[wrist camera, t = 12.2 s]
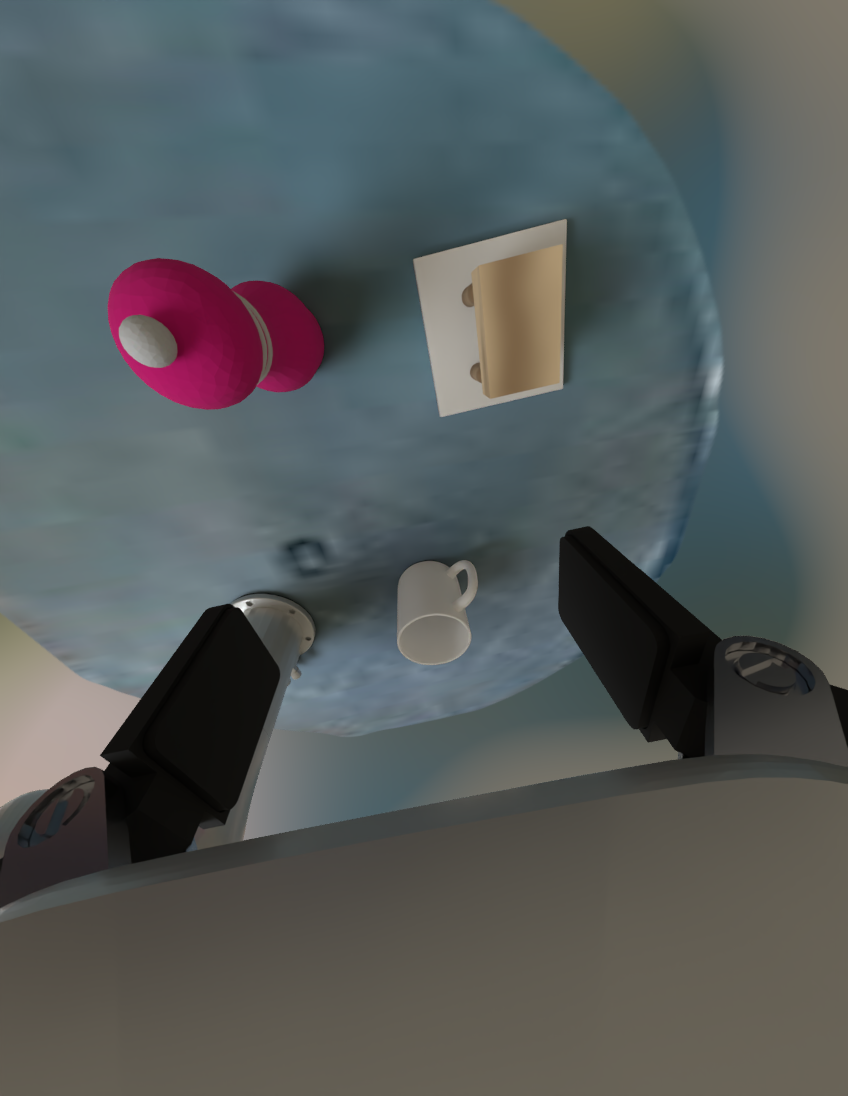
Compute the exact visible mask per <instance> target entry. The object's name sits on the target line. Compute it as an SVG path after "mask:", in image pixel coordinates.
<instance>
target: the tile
mask: <svg viewBox="0 0 848 1096" xmlns="http://www.w3.org/2000/svg"><path fill="white" fill-rule="evenodd" d="M566 234H567V219H564V220H560V221H556V222H552V223H549V224H545V225H541V226H537V227H533V228H530V229H526V230H522V231H518V232H514V233H511V234H507V235H503V236H499V237H495V238H492V239H488V240H484V241H480V242H476V243H473V244H469V245H465V246H461V247H458V248H454V249H450V250H446V251H442V252H439V253H435V254H431V255H427V256H423V257H420V258H416V259H413V265H414V271H415V277H416V283H417V289H418V294H419V300H420V306H421V312H422V318H423V323H424V329H425V335H426V341H427V347H428V352H429V358H430V364H431V370H432V376H433V382H434V387H435V393H436V399H437V405H438V411H439V415H440V417H443V416H448V415H452V414H456V413H461V412H465V411H469V410H474V409H478V408H482V407H486V406H491V405H495V404H499V403H504V402H508V401H512V400H516V399H521V398H525V397H529V396H534V395H538V394H542V393H546V392H551V391H555V390H559V389H563V362H564V320H565V277H566ZM561 244H563V255H562V302H561V348H560V383H557V384H553V385H549V386H544V387H540V388H536V389H531V390H527V391H523V392H518V393H514V394H510V395H505V396H501V397H497V398H492V399H490V398H488V397H487V396H485V395H484V394H483V390H482V383H480V382H478V381H476V380H474V379H473V378H472V377H471V375H470V369H471V367H472V366H473V365H474V364H475V363H480V359H479V348H478V338H477V328H476V317H475V307H474V306H472V307H467V306H465V305H464V304H463V302H462V293H463V291H464V289H465V288H466V287H468V286H469V285H470V284H471V283H472V276H471V272H472V271H473V270H474V269H475V268H477V267H478V266H479V265H482V264H486V263H490V262H494V261H498V260H502V259H506V258H510V257H513V256H517V255H521V254H525V253H529V252H533V251H537V250H541V249H545V248H549V247H553V246H557V245H561Z"/></svg>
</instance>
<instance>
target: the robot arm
mask: <svg viewBox="0 0 848 1096" xmlns="http://www.w3.org/2000/svg"><path fill="white" fill-rule="evenodd" d="M558 609H559V614H560V617H561V619H562V621H563V623H564V624H565V626H566V627H567V629H568V630H569V632H570V634H571V635H572V637H573V638H574V640H575V641H576V643H577V645H578V646H579V648H580V649H581V651H582V652H583V654H584V655H585V657H586V659H587V660H588V662H589V663H590V664H591V666H592V668H593V669H594V671H595V672H596V674H597V676H598V677H599V679H600V680H601V682H602V684H603V685H604V687H605V688H606V690H607V691H608V693H609V694H610V696H611V698H612V699H613V701H614V702H615V704H616V705H617V707H618V708H619V710H620V712H621V713H622V715H623V716H624V718H625V719H626V721H627V722H628V724H629V725H630V726H631V727H632V728H633V729H639V730H640V731H641V733H642V734H643V736H644V737H645V739H646V740H647V742H653V741H658V740H663V739H668V741H669V742H670V744H671V745H672V747H673V748H674V749H675V750H676V751H678V760H670V761H664V762H658V763H652V764H647V765H640V766H634V767H628V768H622V769H617V770H611V771H605V772H599V773H593V774H587V775H581V776H576V777H571V778H565V779H560V780H555V781H550V782H544V783H539V784H534V785H528V786H523V787H518V788H512V789H508V790H502V791H497V792H491V793H486V794H481V795H476V796H470V797H465V798H459V799H454V800H450V801H444V802H439V803H434V804H429V805H423V806H418V807H413V808H407V809H403V810H397V811H392V812H387V813H382V814H376V815H371V816H366V817H361V818H356V819H351V820H346V821H340V822H336V823H330V824H325V825H320V826H315V827H310V828H304V829H299V830H295V831H289V832H285V833H279V834H275V835H270V836H265V837H259V838H255V839H249V840H244V841H243V837H244V833H245V827H246V822H247V817H248V813H249V809H250V804H251V800H252V796H253V793H254V789H255V785H256V782H257V779H258V775H259V772H260V769H261V765H262V762H263V759H264V756H265V753H266V750H267V747H268V743H269V740H270V737H271V734H272V731H273V728H274V725H275V722H276V719H277V716H278V713H279V710H280V707H281V704H282V701H283V697H284V694H285V691H286V688H287V686H288V685H289V684H290V682H291V679H290V676H292V678H293V679H298V678H299V677H300V676H301V671H300V670H299V668H298V667H297V666H296V665H297V662H298V659H299V656H300V655H302V654H303V653H305V652H306V651H307V650H308V649H309V648H310V647H311V645H312V643H313V641H314V637H315V625H314V621H313V620H312V618H311V616H310V615H309V614H308V613H307V611H306V610H305V609H303V608H302V607H301V606H300V605H298V604H296V603H295V602H293V601H291V600H289V599H286V598H284V597H280V596H276V595H270V594H252V595H246V596H243V597H241V598H238V599H236V600H235V601H233V602H232V603H231V604H225V605H221V606H216V607H211V608H208V609H207V610H206V611H205V612H204V613H203V614H202V616H201V617H200V619H199V620H198V621H197V623H196V624H195V625H194V627H193V628H192V630H191V631H190V632H189V634H188V635H187V636H186V638H185V639H184V641H183V642H182V643H181V645H180V646H179V647H178V649H177V650H176V652H175V653H174V654H173V656H172V657H171V658H170V660H169V661H168V663H167V664H166V665H165V667H164V668H163V669H162V671H161V672H160V674H159V675H158V676H157V678H156V679H155V680H154V682H153V683H152V685H151V686H150V687H149V689H148V690H147V691H146V693H145V694H144V696H143V697H142V698H141V700H140V701H139V703H138V704H137V705H136V707H135V708H134V710H133V711H132V712H131V714H130V715H129V716H128V718H127V719H126V720H125V722H124V723H123V725H122V726H121V727H120V729H119V730H118V731H117V733H116V734H115V736H114V737H113V738H112V740H111V741H110V742H109V744H108V745H107V747H106V748H105V750H104V751H103V752H102V754H101V755H100V756H101V757H103V758H105V759H106V760H107V761H109V762H110V764H109V765H108V767H107V768H106V769H105V771H103V770H101V769H99V768H97V767H90V768H84V769H82V770H80V771H77V772H74V773H72V774H71V775H69V776H67V777H66V778H64V779H62V780H61V781H59V782H58V783H56V784H55V785H54V786H53V787H51V788H50V789H47V790H37V791H33V792H29V793H26V794H23V795H21V796H19V797H17V798H15V799H13V800H11V801H9V802H8V803H6V804H5V805H3V806H2V807H0V1096H848V690H846V689H842V688H839V687H836V686H833V685H830V684H829V682H828V680H827V678H826V676H825V675H824V673H823V671H822V670H821V669H820V668H819V667H817V665H815V664H814V663H813V662H812V661H811V660H810V659H808V658H807V657H805V656H804V655H802V654H801V653H799V652H798V651H796V650H793V649H791V648H789V647H787V646H785V645H783V644H780V643H778V642H774V641H771V640H768V639H765V638H759V637H753V636H733V637H729V638H726V639H723V640H721V639H720V638H719V637H718V636H717V635H715V634H714V633H713V632H712V631H711V630H710V629H709V628H708V627H706V626H705V625H704V624H703V623H702V622H700V621H699V620H698V619H697V618H696V617H695V616H694V615H692V614H691V613H690V612H689V611H688V610H687V609H686V608H684V607H683V606H682V605H681V604H680V603H679V602H677V601H676V600H675V599H674V598H673V597H672V596H671V595H669V594H668V593H667V592H666V591H665V590H664V589H662V588H661V587H660V586H659V585H658V584H657V583H655V582H654V581H653V580H652V579H651V578H650V577H649V576H647V575H646V574H645V573H644V572H643V571H642V570H640V569H639V568H638V567H637V566H635V565H634V564H633V563H632V562H631V561H630V560H628V559H627V558H626V557H625V556H624V555H623V554H622V553H620V552H619V551H618V550H617V549H616V548H615V547H613V546H612V545H611V544H610V543H609V542H608V541H607V540H605V539H604V538H603V537H602V536H601V535H600V534H598V533H597V532H596V531H595V530H594V529H593V528H591V527H590V526H587V527H582V528H578V529H573V530H568V531H567V532H566V535H565V537H562V538H561V539H560V557H559V603H558Z"/></svg>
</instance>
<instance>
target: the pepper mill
mask: <svg viewBox="0 0 848 1096" xmlns="http://www.w3.org/2000/svg"><path fill="white" fill-rule="evenodd" d="M108 320H109V324H110V328H111V332H112V335H113V338H114V340H115V343H116V345H117V348H118V349H119V351H120V353H121V354H122V356H123V358H124V360H125V361H126V362H127V363H128V365H129V366H130V367H131V369H132V370H133V371H134V372H135V374H136V375H137V376H139V377H140V378H141V379H142V380H143V381H144V382H145V383H146V384H147V385H148V386H149V387H151V388H152V389H154V390H155V391H156V392H158V393H159V394H161V395H163V396H165V397H166V398H168V399H170V400H172V401H174V402H176V403H179V404H182V405H185V406H189V407H192V408H199V409H221V408H226V407H229V406H232V405H234V404H237V403H240V402H241V401H242V400H244V399H245V398H246V397H247V396H248V395H250V394H251V393H252V392H253V390H254V389H255V387H256V386H257V387H259V388H261V389H264V390H267V391H273V392H288V391H292V390H296V389H299V388H301V387H303V386H304V385H305V384H307V383H308V382H309V381H310V380H311V379H312V377H313V376H314V374H315V373H316V370H317V369H318V367H319V366H320V364H321V362H322V359H323V355H324V339H323V334H322V331H321V329H320V326H319V324H318V322H317V320H316V318H315V317H314V316H313V314H312V313H311V312H310V311H309V310H308V309H307V308H306V307H305V305H304V304H303V303H302V302H301V301H300V300H299V299H298V298H297V297H296V296H295V295H294V294H293V293H291V292H290V291H288V290H287V289H285V288H283V287H281V286H280V285H277V284H274V283H271V282H264V281H247V282H243V283H240V284H238V285H237V286H235V287H233V288H232V289H230V288H229V287H228V286H227V285H226V284H225V283H223V282H222V281H221V280H219V279H218V278H217V277H215V276H214V275H212V274H210V273H208V272H207V271H205V270H203V269H201V268H199V267H197V266H195V265H193V264H189V263H186V262H182V261H179V260H172V259H161V258H157V259H150V260H145V261H141V262H137V263H135V264H133V265H132V266H130V267H129V268H127V269H126V270H124V271H123V272H122V273H121V274H120V275H119V277H118V278H117V279H116V280H115V281H114V283H113V286H112V288H111V291H110V294H109V301H108Z"/></svg>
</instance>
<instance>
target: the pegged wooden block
mask: <svg viewBox="0 0 848 1096" xmlns="http://www.w3.org/2000/svg"><path fill="white" fill-rule="evenodd" d="M562 255H563V244H561V245H557V246H553V247H549V248H545V249H541V250H537V251H533V252H529V253H525V254H521V255H517V256H513V257H510V258H506V259H502V260H498V261H494V262H490V263H486V264H482V265H479V266H478V267H477V268H475V269H474V270H473V271H472V272H471V276H472V283H471V284H470V285H469V286H468V287H466V288H465V289H464V291H463V293H462V302H463V304H464V305H465V306H467V307H472V306H474V307H475V317H476V328H477V338H478V348H479V359H480V363H475V364H474V365H473V366H472V367H471V369H470V375H471V377H472V378H473V379H474V380H476V381H478V382H480V383H482V390H483V394H484V395H485V396H487V397H488V398H490V399H492V398H497V397H501V396H505V395H510V394H514V393H518V392H523V391H527V390H531V389H536V388H540V387H544V386H549V385H553V384H557V383H560V348H561V302H562Z"/></svg>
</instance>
